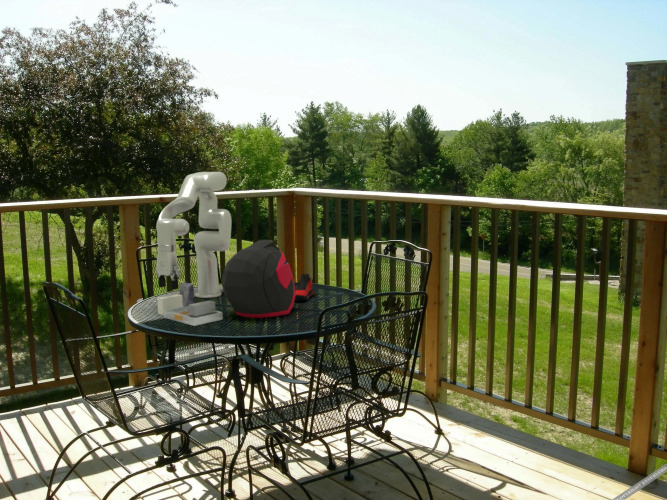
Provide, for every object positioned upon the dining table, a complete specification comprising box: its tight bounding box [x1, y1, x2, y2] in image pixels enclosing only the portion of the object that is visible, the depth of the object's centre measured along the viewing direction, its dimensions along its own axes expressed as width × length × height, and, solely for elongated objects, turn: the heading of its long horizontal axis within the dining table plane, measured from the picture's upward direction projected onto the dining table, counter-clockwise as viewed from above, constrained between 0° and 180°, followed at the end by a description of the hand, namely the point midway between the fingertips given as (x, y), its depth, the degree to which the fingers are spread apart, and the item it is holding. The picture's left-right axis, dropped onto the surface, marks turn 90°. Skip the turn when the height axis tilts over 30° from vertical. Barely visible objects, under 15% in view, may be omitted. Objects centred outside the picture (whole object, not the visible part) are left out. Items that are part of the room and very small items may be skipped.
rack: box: [162, 300, 224, 327], centre depth 269 cm, size 22×14×8 cm, turn 47°
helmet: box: [220, 239, 296, 319], centre depth 277 cm, size 26×32×30 cm
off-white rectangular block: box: [156, 293, 184, 316], centre depth 282 cm, size 4×10×7 cm, turn 137°
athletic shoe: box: [294, 273, 315, 302], centre depth 306 cm, size 8×20×12 cm, turn 168°
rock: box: [178, 282, 196, 307], centre depth 295 cm, size 10×6×10 cm, turn 48°
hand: (168, 288), depth 281 cm, fingers open, 9 cm apart
